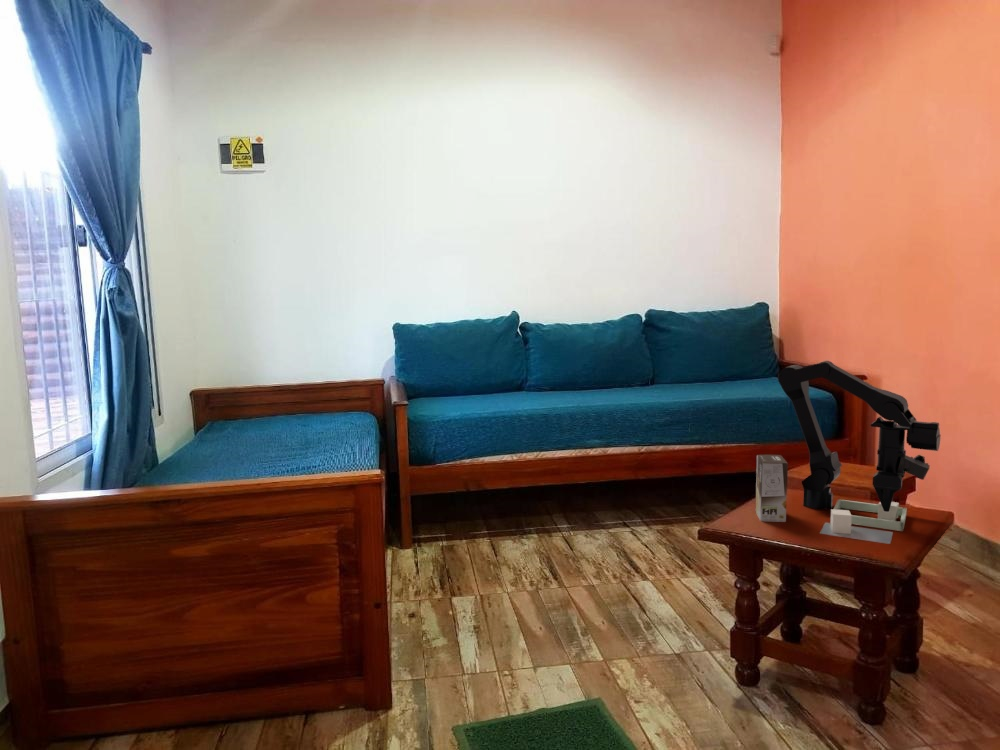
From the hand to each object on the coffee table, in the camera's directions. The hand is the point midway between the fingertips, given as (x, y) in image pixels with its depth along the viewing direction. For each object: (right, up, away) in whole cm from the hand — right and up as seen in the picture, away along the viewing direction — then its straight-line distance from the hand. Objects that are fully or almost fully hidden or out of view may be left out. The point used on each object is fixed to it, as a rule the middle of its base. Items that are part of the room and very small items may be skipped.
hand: (887, 506), depth 190 cm
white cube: (-16, -4, -8) cm, 18 cm away
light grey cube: (0, -3, 0) cm, 3 cm away
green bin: (-5, -4, 0) cm, 6 cm away
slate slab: (-13, -6, -10) cm, 17 cm away
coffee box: (-28, -4, +4) cm, 29 cm away
